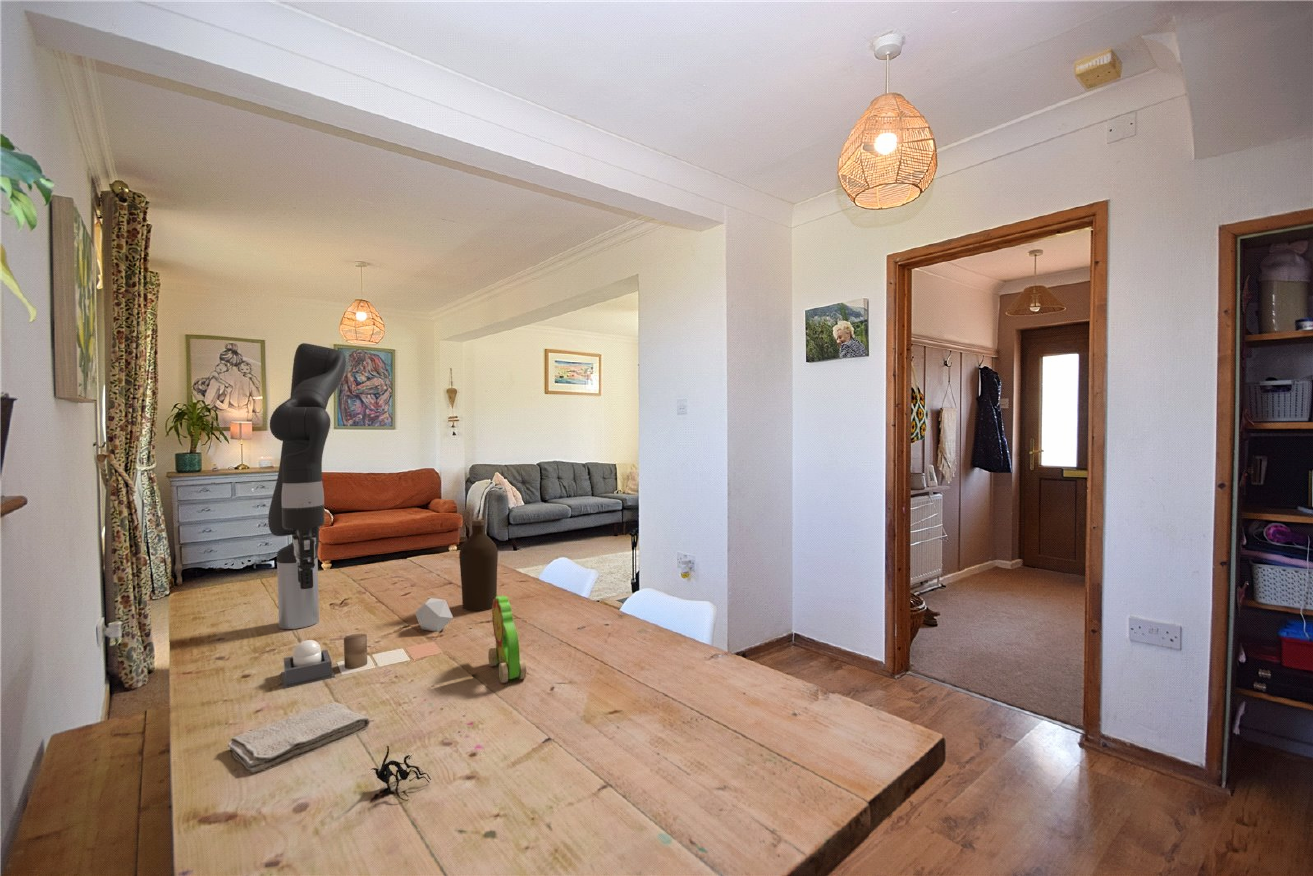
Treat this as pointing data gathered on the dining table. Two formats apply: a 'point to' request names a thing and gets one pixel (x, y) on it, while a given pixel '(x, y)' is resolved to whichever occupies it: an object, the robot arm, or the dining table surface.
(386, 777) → the creature
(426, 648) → the game board
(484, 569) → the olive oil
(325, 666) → the button base
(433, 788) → the dining table surface
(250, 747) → the washcloth
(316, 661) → the dome
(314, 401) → the robot arm
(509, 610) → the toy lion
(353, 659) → the brown cylinder
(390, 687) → the dining table surface
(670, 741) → the dining table surface
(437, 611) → the die
